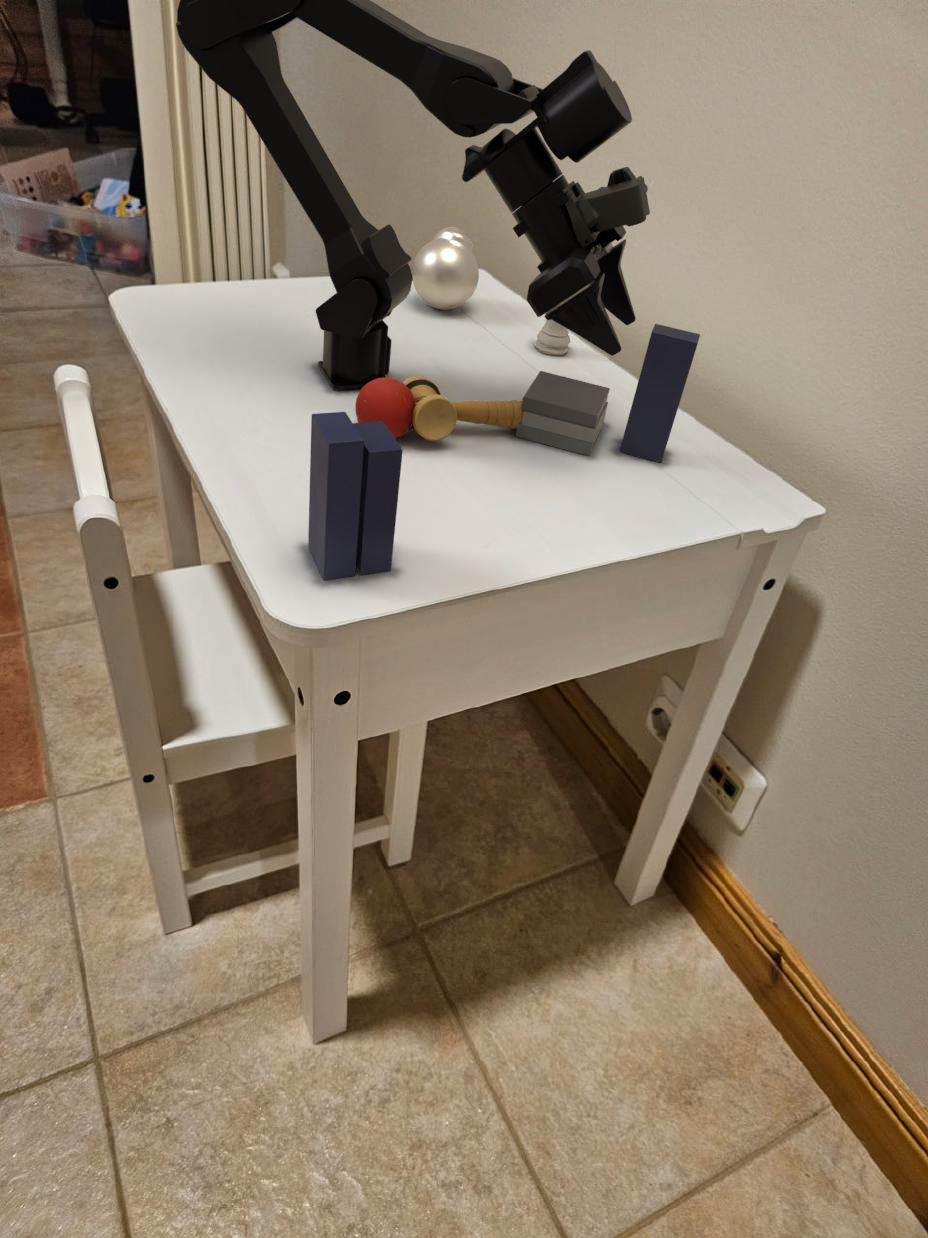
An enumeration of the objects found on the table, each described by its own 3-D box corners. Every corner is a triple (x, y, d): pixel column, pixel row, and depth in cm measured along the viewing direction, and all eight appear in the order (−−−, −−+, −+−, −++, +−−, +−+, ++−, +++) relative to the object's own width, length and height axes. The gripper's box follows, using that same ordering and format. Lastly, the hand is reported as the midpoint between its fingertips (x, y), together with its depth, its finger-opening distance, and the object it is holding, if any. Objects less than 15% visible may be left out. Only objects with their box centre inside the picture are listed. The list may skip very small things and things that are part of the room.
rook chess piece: (575, 354, 112) (589, 291, 108) (548, 358, 110) (561, 294, 105) (554, 340, 115) (566, 278, 110) (527, 344, 113) (538, 281, 108)
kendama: (499, 419, 98) (342, 407, 90) (518, 370, 93) (354, 353, 86) (523, 464, 93) (358, 455, 86) (544, 414, 89) (373, 400, 81)
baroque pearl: (490, 311, 120) (501, 235, 114) (443, 324, 114) (453, 244, 108) (441, 290, 125) (450, 215, 118) (394, 301, 118) (400, 223, 112)
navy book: (661, 463, 92) (698, 342, 84) (619, 452, 93) (651, 331, 85) (664, 452, 94) (700, 333, 86) (623, 441, 95) (655, 323, 87)
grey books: (515, 436, 92) (522, 397, 90) (533, 407, 99) (540, 369, 96) (589, 456, 91) (598, 417, 88) (602, 425, 97) (612, 387, 95)
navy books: (323, 580, 69) (328, 443, 61) (307, 548, 72) (311, 413, 65) (391, 571, 71) (404, 436, 64) (373, 540, 74) (383, 408, 67)
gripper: (591, 155, 70) (688, 323, 75) (627, 123, 85) (707, 266, 90) (483, 237, 76) (580, 387, 82) (534, 194, 91) (613, 324, 96)
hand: (624, 337), depth 87 cm, fingers open, 9 cm apart
